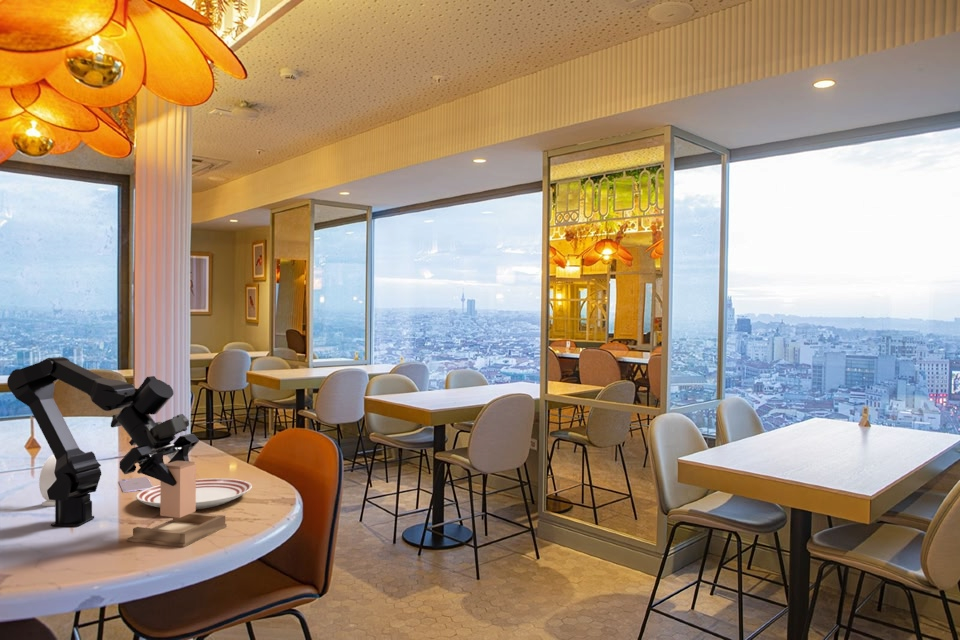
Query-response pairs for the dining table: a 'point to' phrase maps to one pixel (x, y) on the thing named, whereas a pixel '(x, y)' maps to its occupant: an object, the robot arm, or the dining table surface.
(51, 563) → the dining table surface
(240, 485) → the dinner plate
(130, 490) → the mobile phone
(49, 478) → the headphone stand
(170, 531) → the square wooden tray
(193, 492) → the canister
